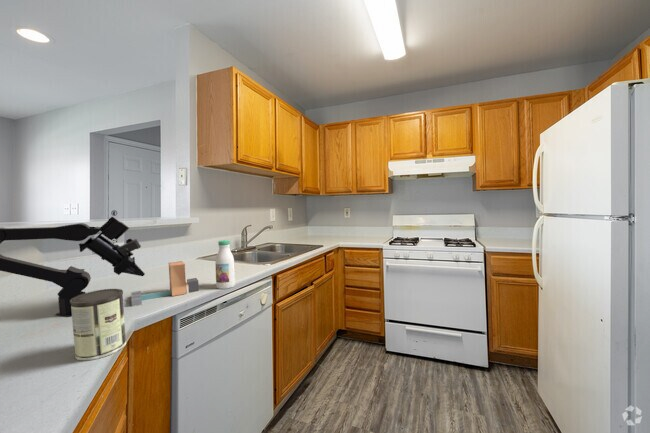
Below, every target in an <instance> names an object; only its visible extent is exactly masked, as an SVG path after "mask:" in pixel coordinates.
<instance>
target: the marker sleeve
mask: <svg viewBox="0 0 650 433" xmlns="http://www.w3.org/2000/svg"><path fill="white" fill-rule="evenodd" d="M168 276H169V277H168V278H169V290H171V293H172V295H171V296H172V297H176V296H180V295H184V294H185V295H186V294H187V292H186V283H187V279H186V264H185V262H184V261H182V260H181V261H173V262H168Z"/></svg>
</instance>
